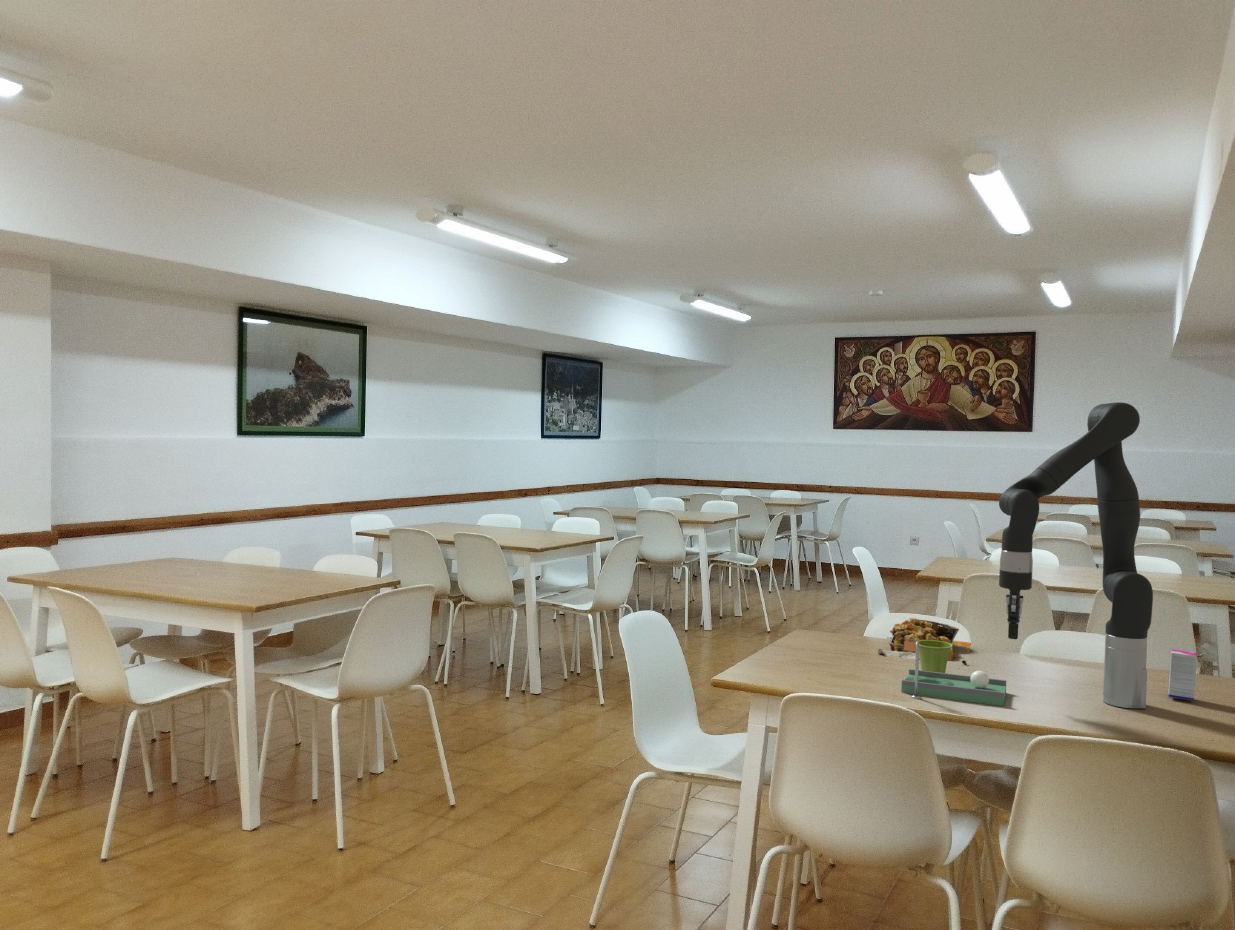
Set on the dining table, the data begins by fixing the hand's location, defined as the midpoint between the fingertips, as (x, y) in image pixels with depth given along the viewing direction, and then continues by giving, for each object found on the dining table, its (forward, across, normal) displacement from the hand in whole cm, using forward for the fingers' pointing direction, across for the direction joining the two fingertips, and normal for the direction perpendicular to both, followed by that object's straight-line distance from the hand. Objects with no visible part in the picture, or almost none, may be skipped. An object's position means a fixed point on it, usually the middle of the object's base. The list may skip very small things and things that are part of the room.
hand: (1012, 638), depth 234 cm
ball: (+11, 0, +7) cm, 13 cm away
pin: (+16, -10, +21) cm, 28 cm away
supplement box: (+15, +27, -40) cm, 50 cm away
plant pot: (+16, +18, +20) cm, 31 cm away
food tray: (+17, +52, +26) cm, 60 cm away
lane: (+16, 0, +13) cm, 20 cm away
